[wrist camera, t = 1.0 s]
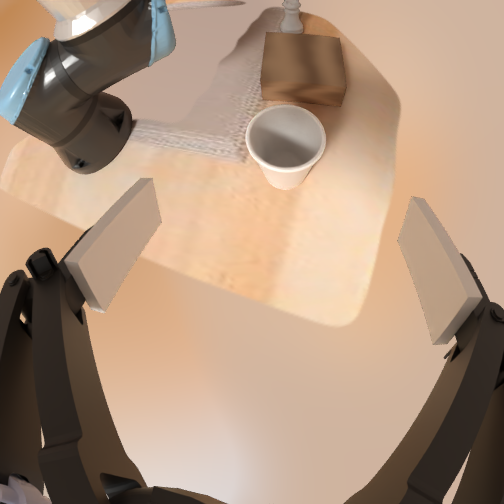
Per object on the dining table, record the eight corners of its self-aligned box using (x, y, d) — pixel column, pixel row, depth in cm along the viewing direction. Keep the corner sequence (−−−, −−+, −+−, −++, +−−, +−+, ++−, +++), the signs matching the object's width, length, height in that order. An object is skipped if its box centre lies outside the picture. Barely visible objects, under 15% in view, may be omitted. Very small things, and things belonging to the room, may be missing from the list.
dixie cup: (300, 209, 35) (307, 185, 25) (244, 184, 36) (231, 152, 26) (324, 158, 36) (337, 121, 26) (270, 135, 37) (266, 94, 27)
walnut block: (262, 100, 37) (260, 80, 32) (267, 51, 38) (266, 32, 33) (340, 106, 36) (346, 87, 31) (335, 57, 37) (339, 38, 32)
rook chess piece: (299, 23, 39) (299, -6, 31) (306, 35, 38) (308, 5, 30) (277, 26, 39) (275, -4, 31) (283, 38, 38) (282, 7, 30)
